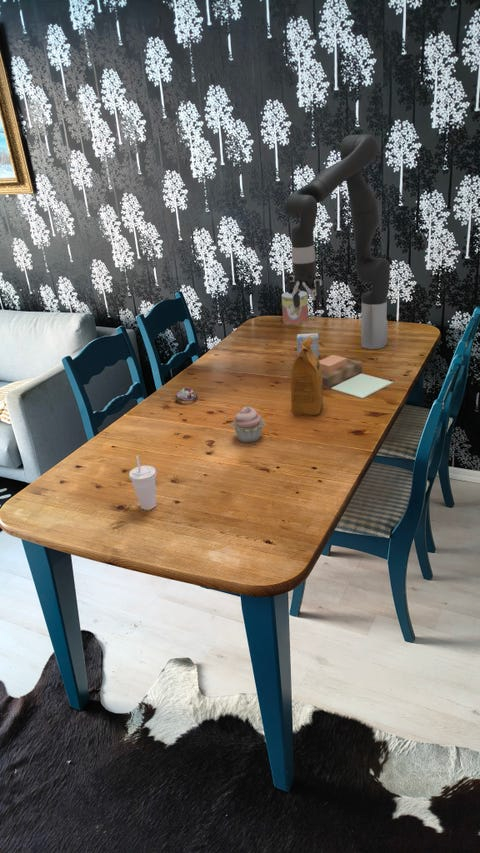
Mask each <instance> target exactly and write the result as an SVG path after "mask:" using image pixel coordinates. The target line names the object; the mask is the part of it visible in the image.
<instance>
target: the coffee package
mask: <svg viewBox="0 0 480 853" xmlns="http://www.w3.org/2000/svg"><path fill="white" fill-rule="evenodd" d="M312 343H313V339H312V338H311V337H308V338H307V339H306V340H305V341H304V342H303V343H301V347H302V351H301V353H300V354H299V356H298V355H297V357H296V358H295V360H294V362H293V366H292V368H291V376H290V378H291V379H290V391H291V393H290V394H291V396H290V397H291V398H290V399H291V400H290V401H291V413H292V415H293V416H301V415H309V416H314V415H319V414H320V412H321V409H322V405H323V400H324V397H323V396H324V388H323V376H322V369H321V365H320V362H319V361H320V360H319V358H317V357H316V356H315V355H314V354H313V352H312V349H311V347H310V345H311V344H312Z"/></svg>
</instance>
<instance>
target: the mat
mask: <svg viewBox="0 0 480 853" xmlns="http://www.w3.org/2000/svg"><path fill="white" fill-rule="evenodd" d="M393 382H394V381H392V380H391V381H390V380H387V379H384V378H379V377H376V376H373V375H368V374H365V373H363V372H362V373H361V374H359V375H357V376H355V377H353V378H351V379H348V380H346V381H344V382H342V383H340V384H338V385H336V386H334V387H332V388H330V390H333V391H336V392H339V393H342V394H346V395H349V396H352V397H355V398H358V399H361V400H362V399H366V398H367V397H369V396H371V395H373V394H374V393H377V392H379V391H380V390H382V389H384V388H387V387H388V386H391V385H392V384H393Z"/></svg>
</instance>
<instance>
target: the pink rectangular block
mask: <svg viewBox="0 0 480 853" xmlns="http://www.w3.org/2000/svg"><path fill="white" fill-rule="evenodd" d="M347 359H348V358H346V357H344V356H339V355H334V354H331V355H329V356H327V357H325V358H322V359H320V360H318V361H319V362H320V365H321V369H322V370H323V371H327V372H331V371H333V370H336V369H338V368H340V367H342V366H344V365H346V364H347Z"/></svg>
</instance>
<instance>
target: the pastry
mask: <svg viewBox="0 0 480 853" xmlns="http://www.w3.org/2000/svg"><path fill="white" fill-rule="evenodd" d="M174 397H175V401H176V403H177V404H180V405H184V406H185V405H190V404H194V403H196V402H197V401H198V400H199V396H198V394H197V393H196V391H194V390H193V389H192V388H191V387H189V386H184V387H183V388H182V389H181V390H179V391H178V392H176V393H175V395H174Z"/></svg>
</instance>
